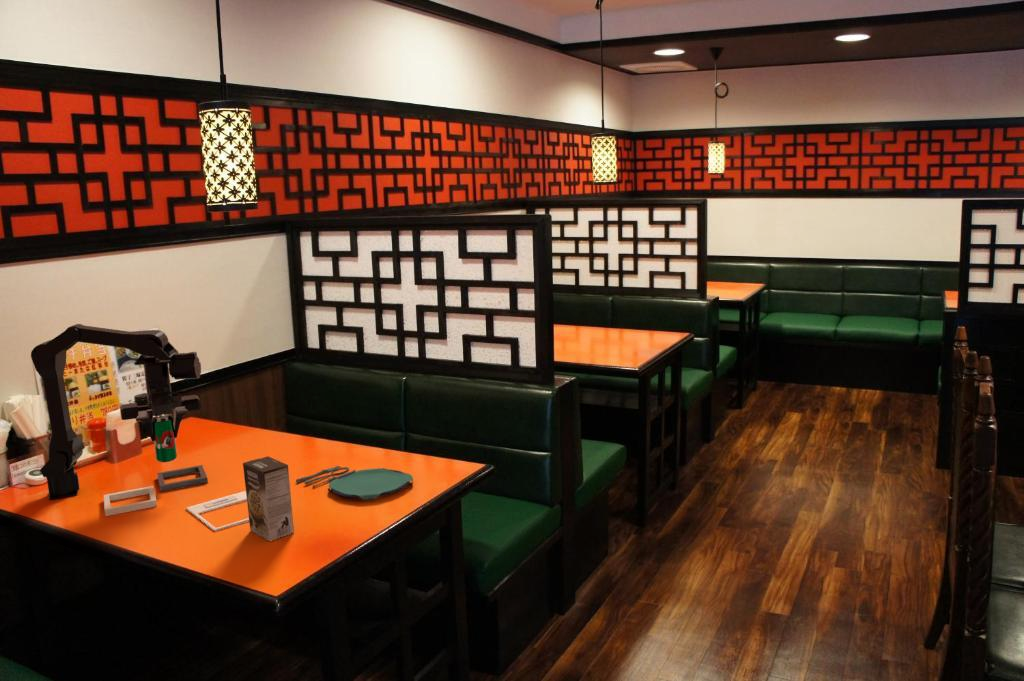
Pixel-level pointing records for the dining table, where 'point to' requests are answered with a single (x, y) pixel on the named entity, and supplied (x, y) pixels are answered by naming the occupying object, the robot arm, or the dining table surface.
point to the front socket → (132, 506)
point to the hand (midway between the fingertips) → (164, 439)
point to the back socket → (183, 483)
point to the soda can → (164, 438)
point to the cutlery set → (363, 482)
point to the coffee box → (268, 498)
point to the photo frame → (218, 504)
